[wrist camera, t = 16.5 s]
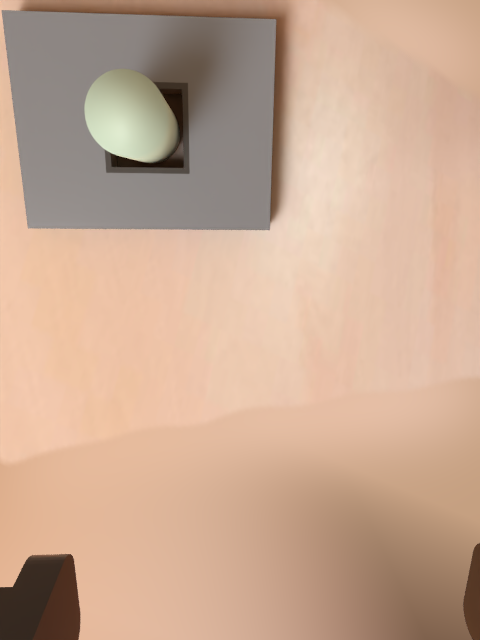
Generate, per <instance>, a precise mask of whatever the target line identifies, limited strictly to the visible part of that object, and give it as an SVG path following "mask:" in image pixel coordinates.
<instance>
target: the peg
mask: <svg viewBox="0 0 480 640" xmlns="http://www.w3.org/2000/svg"><path fill="white" fill-rule="evenodd" d="M84 110H85V120H86V123H87V126H88V129H89V131H90V133H91V135H92V136H93V138H94V139H95V141H96V142H97V143H98V144H99V145H100V146H101V147H102V148H104V149H105V150H107V151H108V152H110V153H112V154H115V155H117V156H121V157H125V158H129V159H133V160H137V161H141V162H145V163H151V164H153V163H160V162H163V161H165V160H166V159H168V158H169V157H170V156H171V155H172V154H173V153H174V152H175V150H176V149H177V146H178V144H179V140H180V128H179V124H178V121H177V119H176V117H175V115H174V114H173V112H172V110H171V109H170V107H169V105H168V104H167V102H166V100H165V99H164V97H163V96H162V94H161V92H160V91H159V89H158V88H157V86H156V85H155V84H154V83H153V82H152V81H151V80H150V79H149V78H147V77H146V76H145V75H143V74H141V73H139V72H137V71H134V70H130V69H115V70H111V71H109V72H106V73H104V74H103V75H101V76H100V77H99V78H97V79H96V80H95V81H94V83H93V84H92V85H91V87H90V89H89V91H88V93H87V96H86V100H85V107H84Z"/></svg>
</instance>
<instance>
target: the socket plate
mask: <svg viewBox="0 0 480 640" xmlns="http://www.w3.org/2000/svg"><path fill="white" fill-rule="evenodd" d="M2 17H3V25H4V33H5V42H6V50H7V58H8V67H9V75H10V83H11V91H12V100H13V108H14V116H15V124H16V133H17V141H18V149H19V158H20V166H21V174H22V182H23V191H24V199H25V207H26V216H27V224H28V228H60V229H193V230H270V204H271V172H272V140H273V108H274V76H275V44H276V19H254V18H224V17H193V16H163V15H132V14H101V13H71V12H40V11H9V10H2ZM115 69H130V70H134V71H137V72H139V73H141V74H143V75H145V76H146V77H147V78H149V79H150V80H151V81H152V82H153V83H154V84H155V85H156V86H157V88H158V89H159V91H160V92H161V94H182V100H183V146H184V168H147V167H117V158H116V155H115V154H112V153H110V152H108V151H107V150H105V149H104V148H102V147H101V146H100V145H99V144H98V143H97V142H96V141H95V139H94V138H93V136H92V135H91V133H90V131H89V129H88V126H87V123H86V120H85V110H84V107H85V100H86V96H87V93H88V91H89V89H90V87H91V85H92V84H93V83H94V81H95V80H96V79H97V78H99V77H100V76H101V75H103V74H104V73H106V72H109V71H111V70H115Z"/></svg>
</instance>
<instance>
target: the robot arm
mask: <svg viewBox="0 0 480 640" xmlns="http://www.w3.org/2000/svg"><path fill="white" fill-rule="evenodd" d="M463 605H464V606H463V607H464V616H465V620H466V624H467V627H468V630H469V633H470V635H471V637H472V639H473V640H480V544H477V545H476V546H475V548H474V551H473V556H472V561H471V566H470V571H469V576H468V581H467V587H466V591H465V596H464V603H463ZM79 632H80V607H79V600H78V590H77V582H76V573H75V565H74V559H73V556H72V555H71V554H59V555H32V556H30V557H29V558H28V559H27V560H26V562H25V564H24V566H23V568H22V570H21V572H20V574H19V576H18V578H17V580H16V582H15V584H14V586H13V587H0V640H78V639H79Z"/></svg>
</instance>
